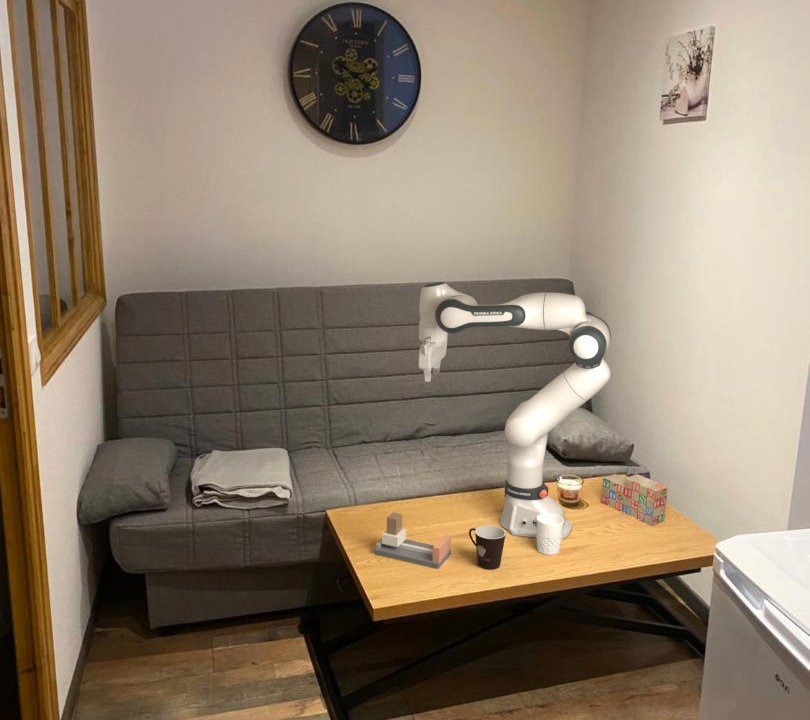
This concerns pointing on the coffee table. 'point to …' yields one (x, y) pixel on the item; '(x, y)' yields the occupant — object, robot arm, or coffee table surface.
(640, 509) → the stack of blocks
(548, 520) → the white cup
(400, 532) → the shuttle
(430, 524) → the coffee table surface
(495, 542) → the coffee mug
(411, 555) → the track
